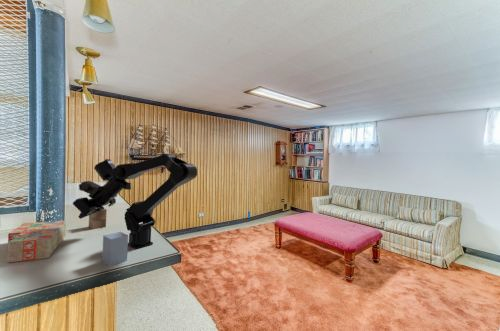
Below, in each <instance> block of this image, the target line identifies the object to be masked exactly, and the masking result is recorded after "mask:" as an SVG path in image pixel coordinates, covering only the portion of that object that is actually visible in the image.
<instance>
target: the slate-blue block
mask: <svg viewBox="0 0 500 331" xmlns="http://www.w3.org/2000/svg"><path fill="white" fill-rule="evenodd" d="M128 243H129V235H128V234H126V233H124V232H122V231H117V232H114V233H113V232H112V233H108V234H104V235H103V239H102V255H101V256H102V258H101V259H102V260H101V261H102V262H103V263H104V264H106V265H107V266H108V267H111V266H115V265H117V264H121V263H124V262H127V261H128V248H129V245H128Z"/></svg>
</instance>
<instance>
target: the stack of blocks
mask: <svg viewBox="0 0 500 331" xmlns="http://www.w3.org/2000/svg"><path fill="white" fill-rule="evenodd" d="M66 223H67V220H56V221H55V220H53V221H39V222H38V221H37V222H24V223H22V224H21V225H19V226H18V227H17V228H15V229H13V230H12V231H10V232H9V233H8V235H7V237H8V238H7V263H14V262H25V261H26V262H27V261H35V260H43V259H49V258H50V257H51V256H52V254H53V253H54V251H55V249H56V248H57V247H58V246H59V245H60V244H61V243H62V241H63V240H64V238H65V237H66V229H67V226H66V225H67V224H66Z"/></svg>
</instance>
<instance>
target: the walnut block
mask: <svg viewBox="0 0 500 331" xmlns="http://www.w3.org/2000/svg"><path fill="white" fill-rule="evenodd" d="M88 227H89V228H90V229H92V230H97V229H103V228H106V227H107V209H106V208H104V209H103V210H101V211H98V212H96V213H93V214H91V215H88Z"/></svg>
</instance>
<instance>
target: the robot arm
mask: <svg viewBox="0 0 500 331" xmlns="http://www.w3.org/2000/svg"><path fill="white" fill-rule="evenodd" d="M163 167H165V168H166V169H167V171H168V172H169V173H170V174H169V176H168V178H167V179H166V180H165V182H163V183H162V184H161V185H160V186H159V187H158V188H157V189H155V191H153V193H151V194H149V196H148V197H147V198H146V199H145V200H142V201H136V202H135V201H134V202H132V204H131V205H130V206H129V207H128V208H126V209H125V210H126V211H125V213H124V222H125V226H126V230H127V231H130V232H129V235H128V246H130V247H132V248H134V249H141V248H144V247H146V246H147V245H148V246H151V245H154V242H153V241H151V240H152V227H154V226H155V224H156V219H155V218H154V217H153V213H154V210H155V208H157V207H158V206H159V205H160V204H161V203H162V202H163V201H165V200H166V198H168V197H169V196H170V195H172V193H173V192H174V191H176V190H177V189H178V188H179V187H181V186H182V185H185V184H187V183H189V182H191V181H192V180H194V179H195V178H197V176H198V168H197V166H196V165H195V164H193V163H189V162H187V161H185V160H183V159H180V158H178V157H177V156H175V155H174V154H171V153H162V154H161V155H157V156H155V157H152V158H149V159H145V160H142V161H139V162H136V163H135V162H134V163H119V164H118V165H116V166H115V164H114V163H113V161H112V160H111V158H110V159H109V158H107V159H106V158H105V159H104V160H103V161H100V162H99V163H97V164H95V166H94V168H93V169H94V170H95V172H96V173H97V174H98V176H99V177H100V178H101V180H102V181H104V182H105V181H106V183H104V185H100V184H98V183H96V182H93V181H91V180H86V181H85V180H84V181H82V182H81V183H80V184H79V185H78V190H79V191H82V192H84V193H87V194H88V195H87V196H88V197H89V198H88V197H80V198H79V197H78V198H76V199H75V200H74V201H73V202H72V205H73V206H74V207H75V208H76V209H77V210H78V211H79V212H80V213H79V215H78V218H79V219H84V218H86V217H89V215H91V214H93V213H96V212H98V211H101V210H103V209H105V207H104V206H107V205H108V207H109V208H110V207H112V206H114V205H115V204H116V203H117V201H116V200H117V199H116V198H117V196H118V194H119V193H120V192H121V191H123V190H129V191H131V189H132V187H131V185H132V182H130V181H129V182H128V181H127V180H134V179H137V178H139V177H140V176H142V175H143V174H144V173H147V172H150V171H153V170H157V169H160V168H163ZM150 244H151V245H150Z"/></svg>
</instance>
